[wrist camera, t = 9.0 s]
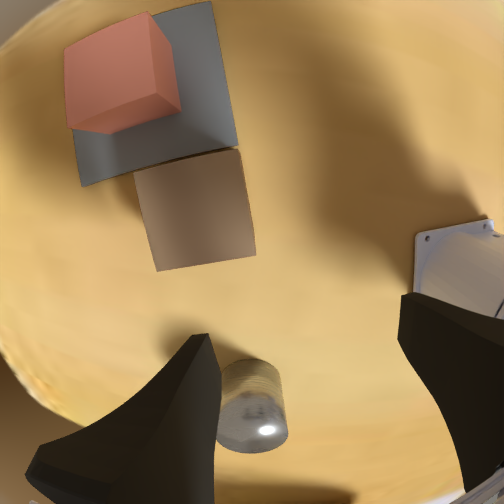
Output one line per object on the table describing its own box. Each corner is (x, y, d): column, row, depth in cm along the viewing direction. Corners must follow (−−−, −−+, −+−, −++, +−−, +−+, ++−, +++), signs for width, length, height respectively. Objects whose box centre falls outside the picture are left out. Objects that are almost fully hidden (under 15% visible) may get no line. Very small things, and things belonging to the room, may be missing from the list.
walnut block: (240, 153, 17) (237, 148, 12) (254, 230, 18) (256, 255, 13) (163, 169, 17) (133, 172, 12) (179, 243, 18) (156, 271, 13)
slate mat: (211, 4, 13) (210, 0, 12) (238, 145, 16) (238, 144, 16) (72, 54, 13) (68, 52, 13) (85, 186, 17) (81, 187, 16)
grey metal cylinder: (276, 354, 21) (284, 411, 15) (283, 395, 22) (291, 448, 17) (214, 363, 21) (206, 419, 15) (228, 402, 23) (225, 455, 17)
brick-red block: (171, 45, 14) (147, 11, 9) (181, 111, 15) (156, 92, 10) (103, 70, 14) (64, 48, 9) (110, 134, 15) (67, 128, 10)
